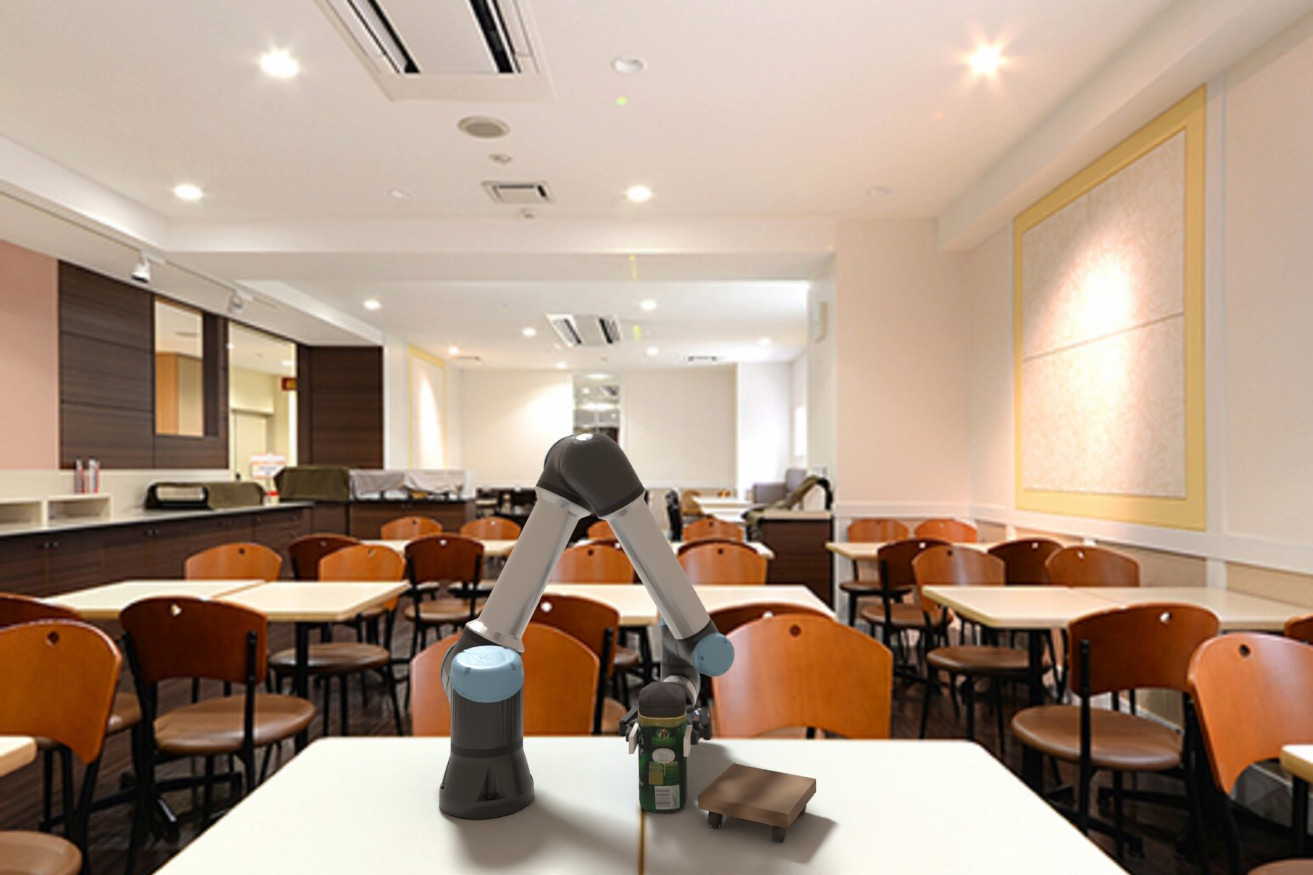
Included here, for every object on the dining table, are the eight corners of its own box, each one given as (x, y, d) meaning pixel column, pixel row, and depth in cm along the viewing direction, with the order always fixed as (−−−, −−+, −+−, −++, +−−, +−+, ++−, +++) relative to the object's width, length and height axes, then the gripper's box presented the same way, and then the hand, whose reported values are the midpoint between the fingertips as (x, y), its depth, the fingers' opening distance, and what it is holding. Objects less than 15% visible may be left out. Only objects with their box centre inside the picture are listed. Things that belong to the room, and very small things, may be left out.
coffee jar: (639, 789, 133) (639, 677, 133) (687, 789, 132) (686, 677, 133) (636, 814, 123) (636, 694, 124) (687, 815, 123) (686, 694, 123)
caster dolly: (697, 828, 118) (697, 794, 118) (733, 793, 131) (733, 763, 131) (788, 849, 112) (788, 813, 112) (816, 810, 124) (816, 778, 124)
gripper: (731, 725, 144) (725, 773, 122) (618, 720, 147) (593, 767, 124) (730, 683, 145) (725, 724, 122) (618, 679, 147) (592, 719, 125)
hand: (658, 746), depth 123 cm, fingers closed on coffee jar, 8 cm apart
